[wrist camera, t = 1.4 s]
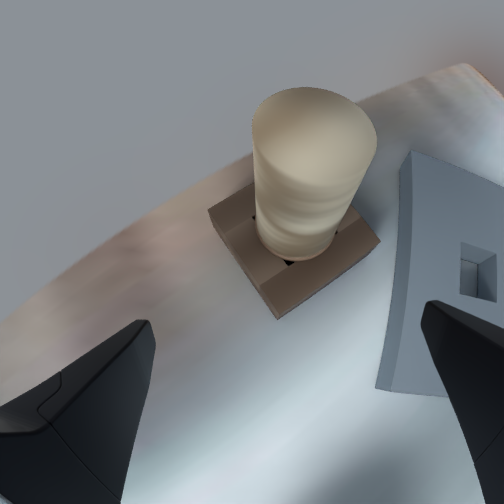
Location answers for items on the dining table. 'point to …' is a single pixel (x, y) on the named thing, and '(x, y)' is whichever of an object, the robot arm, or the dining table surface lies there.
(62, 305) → the dining table surface
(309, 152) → the leg
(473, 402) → the robot arm
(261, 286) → the frame
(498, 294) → the board
